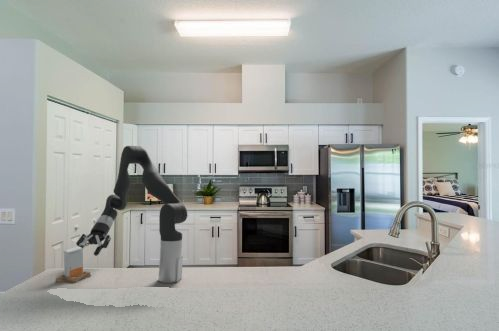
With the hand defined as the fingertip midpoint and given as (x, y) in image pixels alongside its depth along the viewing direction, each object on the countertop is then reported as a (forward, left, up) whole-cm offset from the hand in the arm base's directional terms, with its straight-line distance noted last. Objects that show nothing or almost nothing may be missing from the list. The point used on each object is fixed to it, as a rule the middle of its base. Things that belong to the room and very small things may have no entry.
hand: (86, 254), depth 125 cm
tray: (0, +8, -9) cm, 12 cm away
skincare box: (0, +7, -8) cm, 11 cm away
